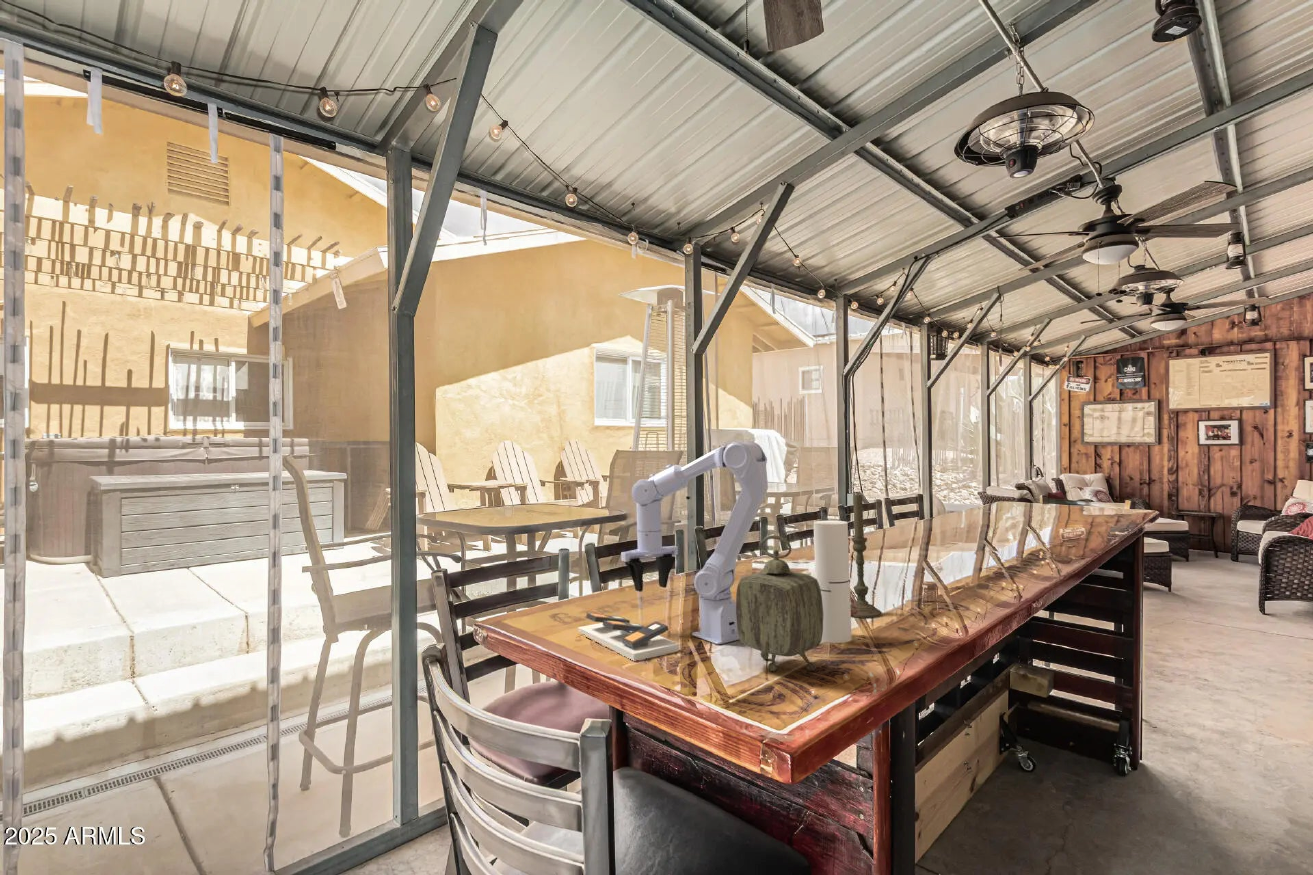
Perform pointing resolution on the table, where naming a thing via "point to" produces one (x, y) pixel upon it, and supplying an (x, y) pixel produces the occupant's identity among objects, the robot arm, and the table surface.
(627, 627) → the rocker middle
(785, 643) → the tabletop clock
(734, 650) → the table surface
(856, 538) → the candlestick holder
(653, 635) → the rocker near
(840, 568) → the cylindrical container
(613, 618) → the rocker far
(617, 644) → the switch strip
